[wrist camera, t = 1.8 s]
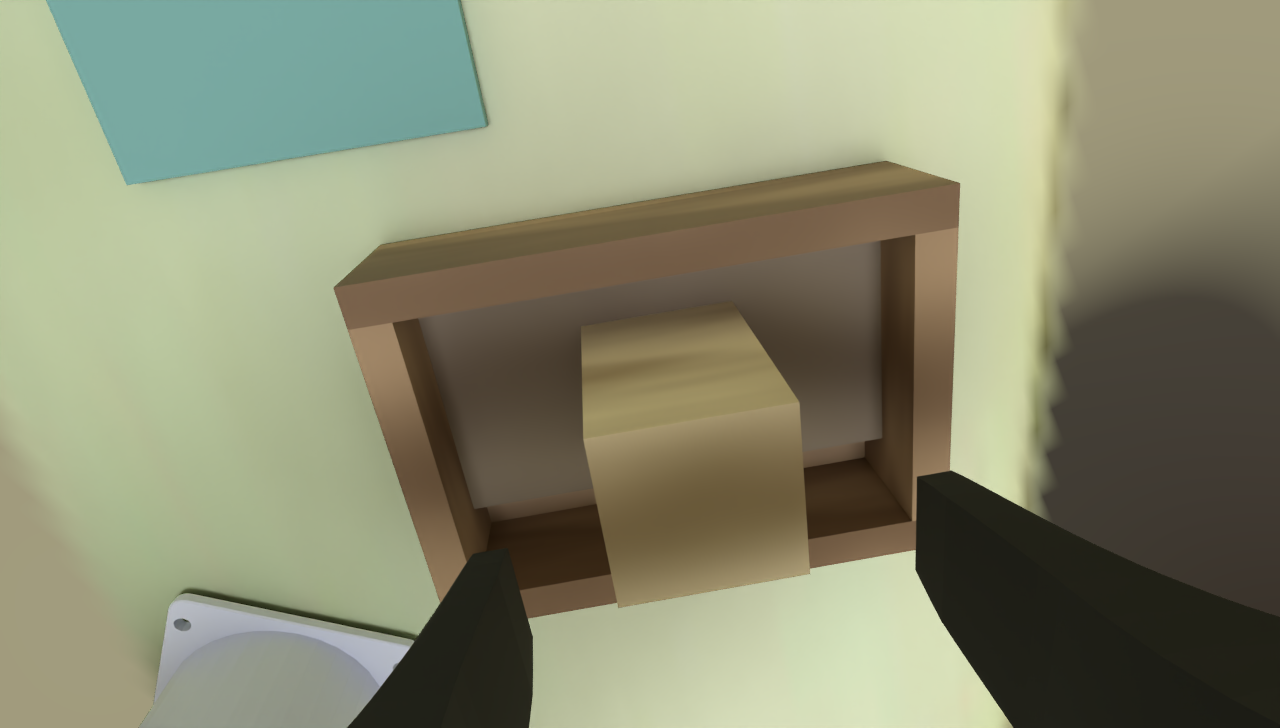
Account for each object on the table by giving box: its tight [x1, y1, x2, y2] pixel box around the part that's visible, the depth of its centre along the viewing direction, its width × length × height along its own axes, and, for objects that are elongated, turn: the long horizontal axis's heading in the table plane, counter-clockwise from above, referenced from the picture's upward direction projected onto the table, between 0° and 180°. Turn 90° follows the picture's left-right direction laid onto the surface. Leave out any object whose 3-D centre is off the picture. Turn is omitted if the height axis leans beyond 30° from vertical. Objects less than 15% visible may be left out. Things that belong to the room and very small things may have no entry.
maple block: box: [581, 301, 810, 608], centre depth 16 cm, size 4×4×6 cm
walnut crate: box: [334, 161, 960, 618], centre depth 19 cm, size 10×14×4 cm
